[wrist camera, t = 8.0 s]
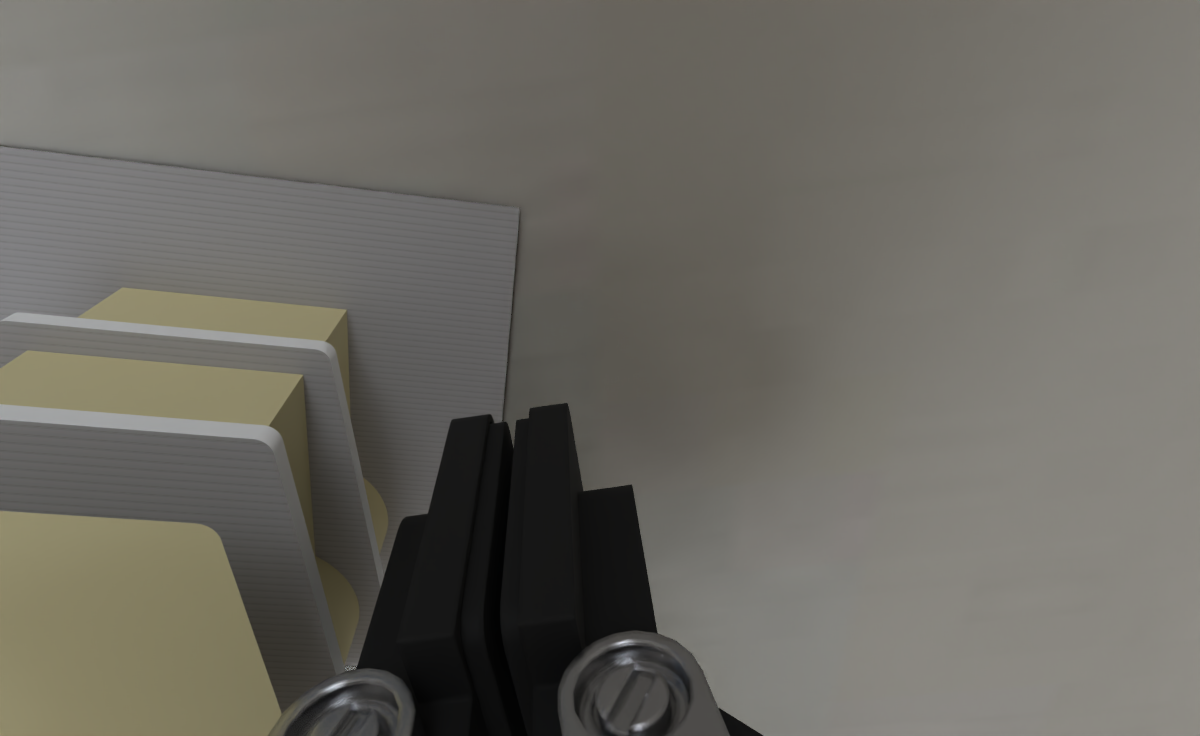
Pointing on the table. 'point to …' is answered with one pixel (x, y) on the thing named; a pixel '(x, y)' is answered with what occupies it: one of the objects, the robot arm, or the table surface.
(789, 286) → the table surface
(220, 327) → the stacked layers on plate
